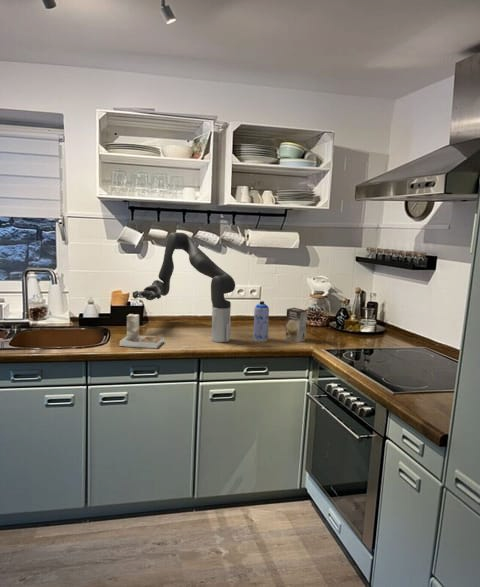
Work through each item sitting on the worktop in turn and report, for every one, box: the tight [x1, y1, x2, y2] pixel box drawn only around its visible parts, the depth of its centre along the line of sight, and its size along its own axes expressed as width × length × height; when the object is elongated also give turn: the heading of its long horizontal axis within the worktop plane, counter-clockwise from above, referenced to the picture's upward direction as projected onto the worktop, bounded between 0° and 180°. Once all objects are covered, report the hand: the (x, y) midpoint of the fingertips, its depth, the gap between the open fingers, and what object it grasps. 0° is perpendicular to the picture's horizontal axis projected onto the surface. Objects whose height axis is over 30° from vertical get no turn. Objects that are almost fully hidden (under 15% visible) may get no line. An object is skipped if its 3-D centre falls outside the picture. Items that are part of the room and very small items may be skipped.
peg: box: [126, 313, 140, 340], centre depth 223 cm, size 4×4×14 cm
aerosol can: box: [252, 300, 270, 342], centre depth 239 cm, size 8×8×20 cm
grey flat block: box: [119, 335, 165, 349], centre depth 223 cm, size 18×12×3 cm, turn 84°
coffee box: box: [284, 307, 308, 343], centre depth 242 cm, size 9×6×16 cm
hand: (142, 297), depth 236 cm, fingers open, 8 cm apart
